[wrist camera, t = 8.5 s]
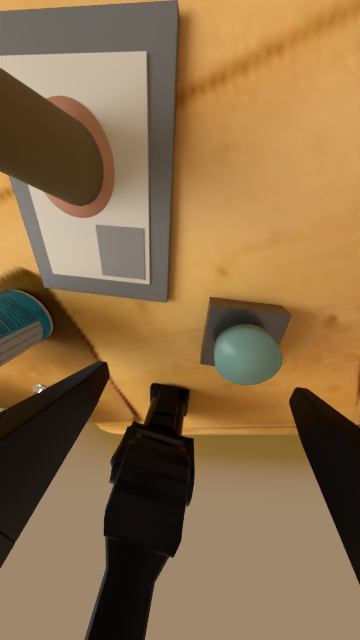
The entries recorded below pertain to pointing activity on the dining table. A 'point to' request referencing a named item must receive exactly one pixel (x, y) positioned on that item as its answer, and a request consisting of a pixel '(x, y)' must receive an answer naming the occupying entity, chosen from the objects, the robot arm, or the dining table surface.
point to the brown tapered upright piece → (47, 145)
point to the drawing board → (104, 140)
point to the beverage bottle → (21, 323)
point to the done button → (246, 355)
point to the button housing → (240, 321)
